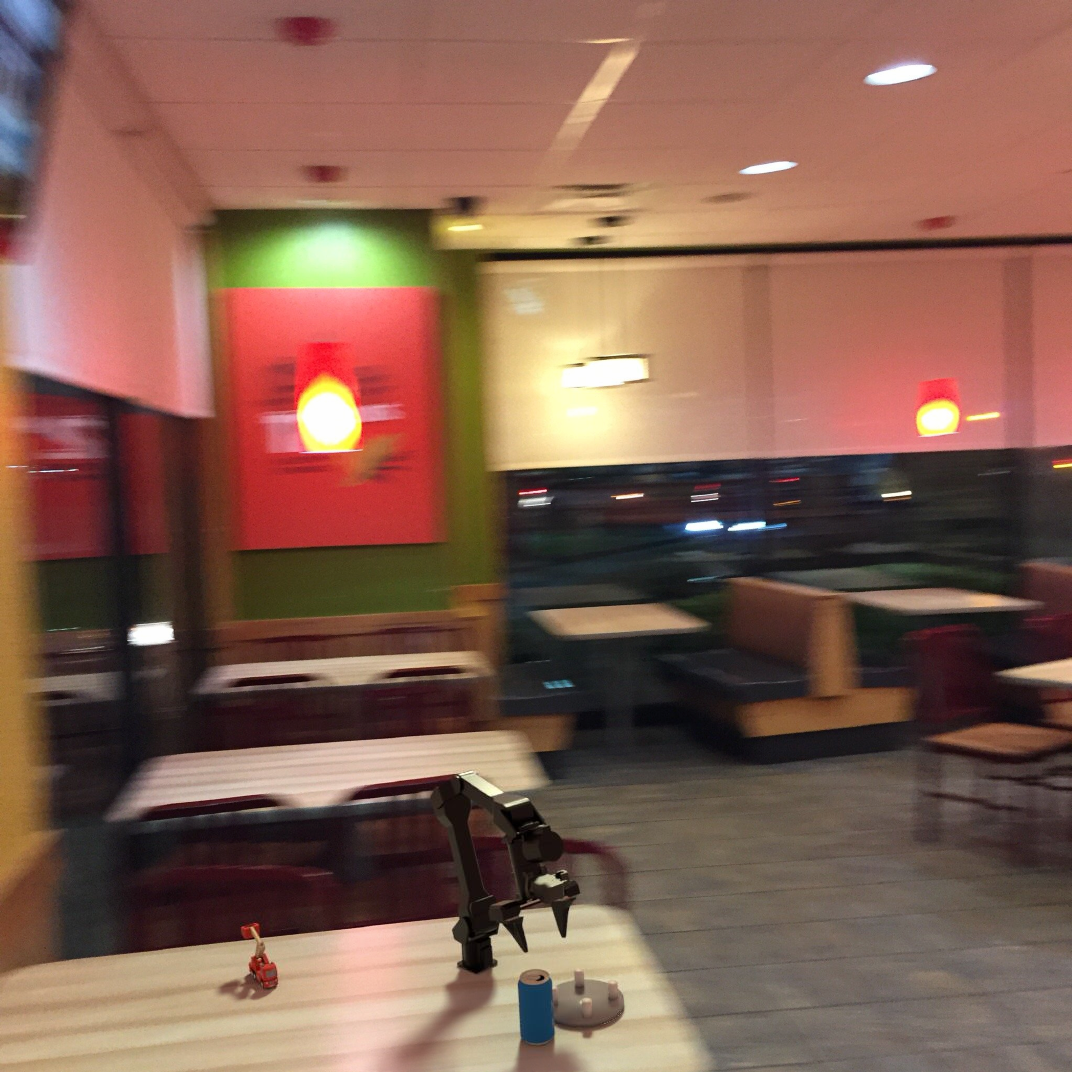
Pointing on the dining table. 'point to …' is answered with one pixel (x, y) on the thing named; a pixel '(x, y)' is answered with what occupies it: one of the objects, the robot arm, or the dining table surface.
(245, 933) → the toy fire truck
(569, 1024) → the peg stand
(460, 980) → the dining table surface
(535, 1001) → the beverage can
